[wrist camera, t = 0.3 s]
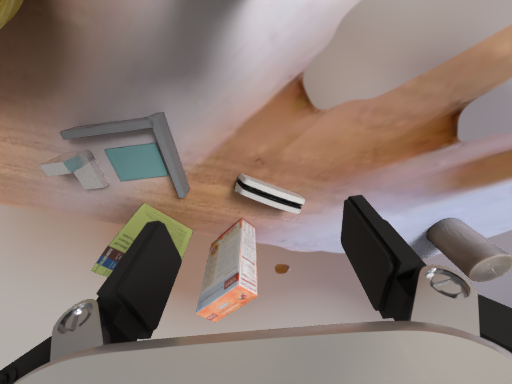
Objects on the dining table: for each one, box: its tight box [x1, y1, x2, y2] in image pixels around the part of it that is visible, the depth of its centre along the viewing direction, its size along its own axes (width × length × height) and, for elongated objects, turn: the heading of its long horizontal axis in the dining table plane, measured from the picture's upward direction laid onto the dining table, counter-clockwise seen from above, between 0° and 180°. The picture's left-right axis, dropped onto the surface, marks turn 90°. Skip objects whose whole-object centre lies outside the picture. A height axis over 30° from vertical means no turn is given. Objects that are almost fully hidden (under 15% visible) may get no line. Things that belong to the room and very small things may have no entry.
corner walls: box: [59, 112, 190, 198], centre depth 45 cm, size 18×20×4 cm
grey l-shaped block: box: [39, 149, 109, 190], centre depth 45 cm, size 9×5×8 cm, turn 7°
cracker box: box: [196, 218, 258, 322], centre depth 51 cm, size 14×6×21 cm, turn 135°
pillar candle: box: [427, 218, 512, 282], centre depth 53 cm, size 10×10×15 cm
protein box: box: [91, 203, 193, 277], centre depth 51 cm, size 10×15×16 cm
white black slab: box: [235, 174, 305, 214], centre depth 48 cm, size 17×5×10 cm, turn 67°
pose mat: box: [104, 143, 169, 181], centre depth 47 cm, size 8×12×1 cm, turn 97°
